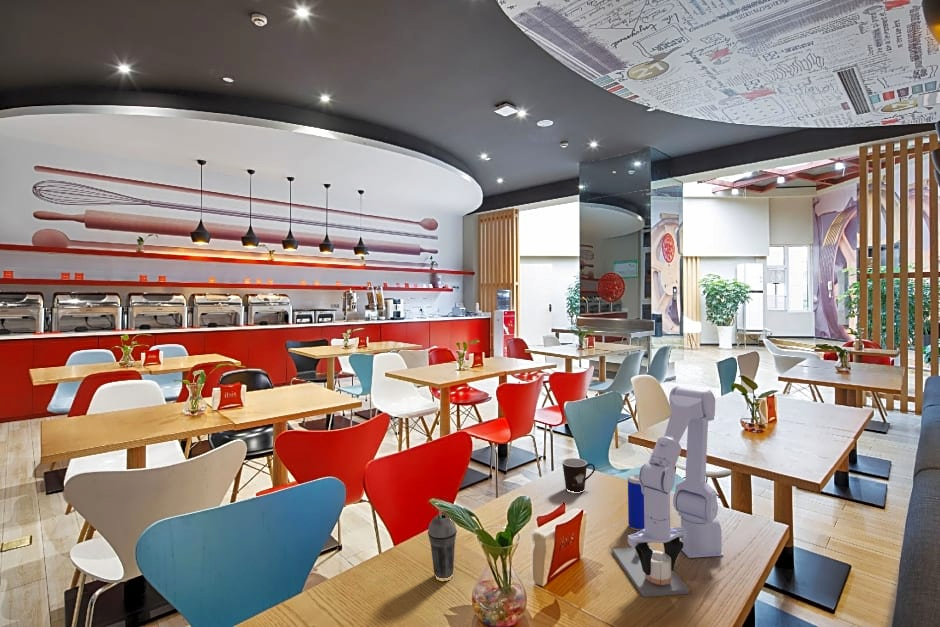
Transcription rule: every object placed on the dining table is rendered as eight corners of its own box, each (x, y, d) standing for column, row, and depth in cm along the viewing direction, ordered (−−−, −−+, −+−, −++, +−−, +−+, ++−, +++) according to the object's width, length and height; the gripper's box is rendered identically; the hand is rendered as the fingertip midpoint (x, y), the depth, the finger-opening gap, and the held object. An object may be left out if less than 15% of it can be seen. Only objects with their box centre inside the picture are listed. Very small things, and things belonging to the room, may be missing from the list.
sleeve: (661, 569, 116) (661, 549, 116) (675, 582, 111) (675, 561, 111) (640, 572, 115) (640, 552, 115) (654, 586, 110) (654, 565, 109)
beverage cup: (462, 571, 121) (459, 494, 120) (452, 587, 114) (449, 506, 113) (436, 566, 123) (433, 491, 123) (424, 582, 117) (421, 503, 116)
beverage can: (648, 531, 138) (647, 481, 137) (629, 530, 139) (628, 480, 138) (645, 523, 143) (644, 474, 142) (627, 522, 144) (626, 473, 143)
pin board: (612, 552, 127) (612, 536, 127) (651, 549, 128) (651, 533, 128) (643, 597, 109) (642, 578, 108) (689, 593, 109) (689, 574, 109)
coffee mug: (563, 494, 165) (562, 466, 164) (562, 484, 173) (561, 457, 173) (597, 496, 163) (597, 467, 163) (595, 486, 171) (594, 458, 171)
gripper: (673, 503, 118) (674, 557, 118) (620, 511, 115) (621, 566, 115) (692, 516, 111) (693, 573, 111) (636, 525, 108) (637, 583, 108)
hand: (657, 570), depth 113 cm, fingers closed on sleeve, 6 cm apart
